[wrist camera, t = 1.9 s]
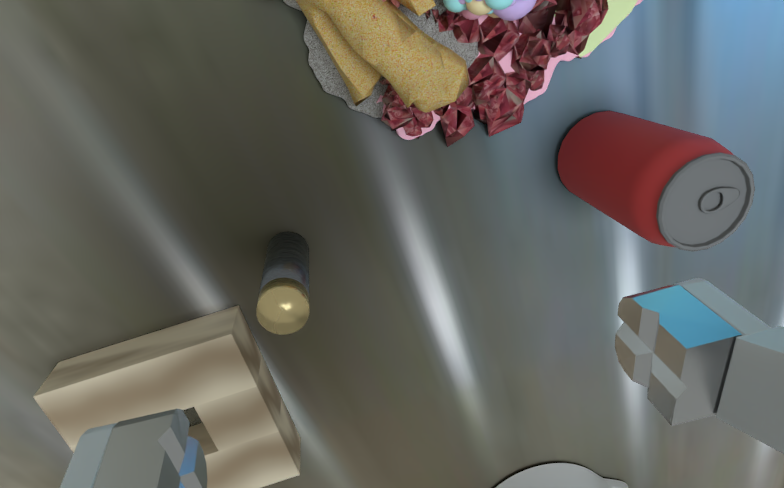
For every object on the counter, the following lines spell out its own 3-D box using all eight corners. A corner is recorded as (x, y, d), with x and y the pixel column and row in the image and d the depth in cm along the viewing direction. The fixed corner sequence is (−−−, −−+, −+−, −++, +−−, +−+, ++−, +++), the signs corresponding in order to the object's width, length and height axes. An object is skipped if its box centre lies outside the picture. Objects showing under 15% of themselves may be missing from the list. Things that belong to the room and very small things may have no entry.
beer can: (639, 182, 40) (763, 240, 29) (559, 206, 40) (653, 275, 29) (633, 98, 38) (767, 127, 27) (548, 124, 37) (647, 165, 27)
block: (300, 438, 45) (300, 474, 41) (144, 489, 45) (129, 530, 41) (238, 305, 39) (231, 333, 36) (58, 361, 39) (33, 396, 35)
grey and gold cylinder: (314, 262, 39) (316, 325, 31) (276, 274, 39) (267, 340, 31) (300, 226, 38) (299, 282, 29) (261, 239, 38) (248, 298, 29)
